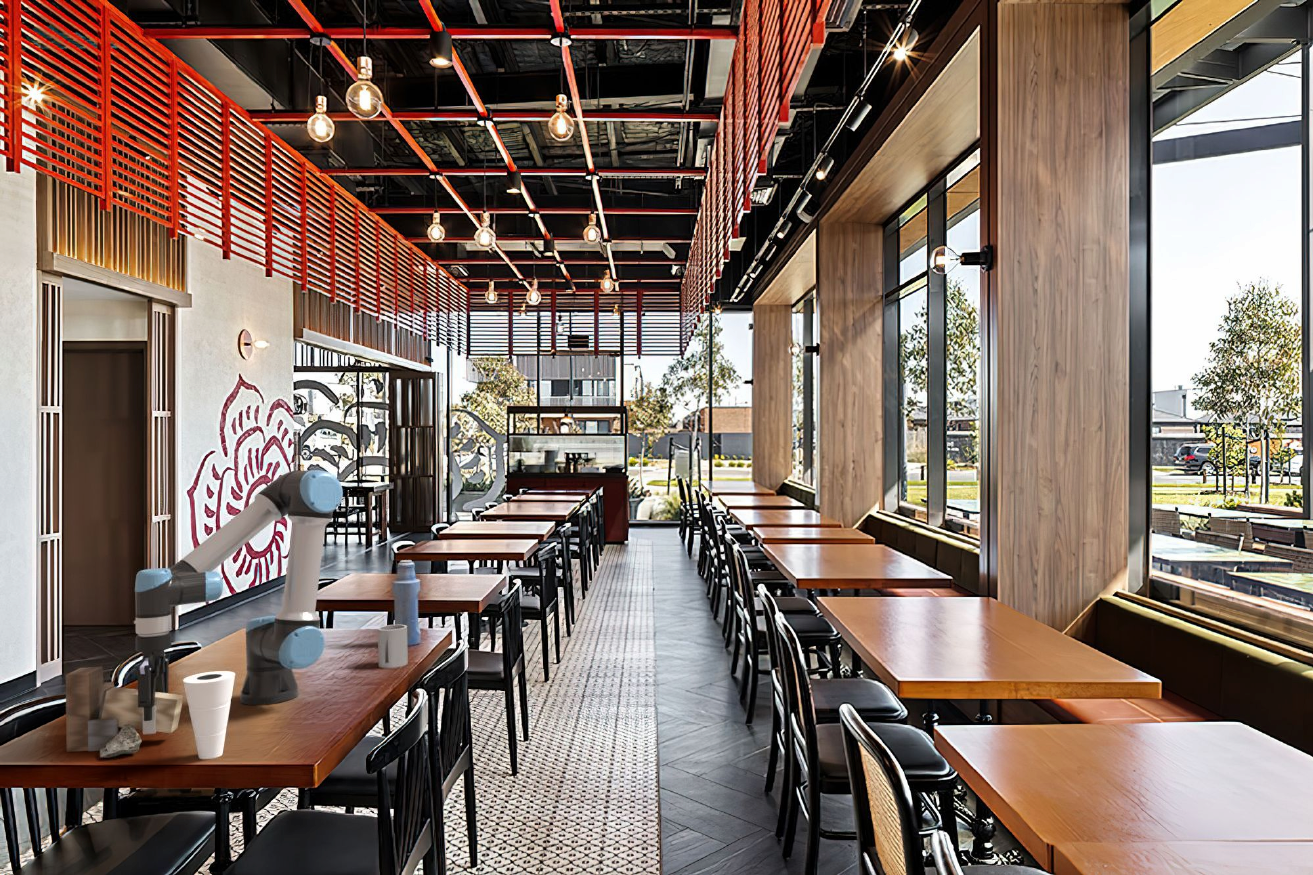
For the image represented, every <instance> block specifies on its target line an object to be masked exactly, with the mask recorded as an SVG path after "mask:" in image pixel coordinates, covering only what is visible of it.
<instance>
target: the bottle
mask: <svg viewBox="0 0 1313 875" xmlns="http://www.w3.org/2000/svg"><path fill="white" fill-rule="evenodd" d="M415 567H416V566H415V562H413V561H412V560H411V559H408V560H407V559H405V560H403V559H402V560H400V561H399V563H397V572H396V573H397V574H396V579H394V580H392V582H391V583H392V586H391V588H392V590H391V591H392V596H393V600H394V625H406V626H407V647H413V646H417V645H419V644H421V641H422V640H421V639H422V638H421V637H422V636H421V634H422V633H421V629H420V627H419V626H420V625H419V594H420V592H421V580H420V579H419V578H416V572H415Z"/></svg>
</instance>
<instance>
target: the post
mask: <svg viewBox="0 0 1313 875" xmlns="http://www.w3.org/2000/svg"><path fill="white" fill-rule="evenodd" d="M110 687H115V683H114V681H109V682H106V681H105V682H104V667H103V666H91V667H89V666H88V667H79V668H77V669H76V670H74V671H71V672H69V673H67V674H66V675H65V715H66V716H65V717H66V718H65V723H66V726H65V728H66V732H65V734H66V735H65V736H66V752H67V753H68V752H69V753H70V752H71V753H73V752H85V751H88V752H98V751H99V752H100V750H101V749H103V748H104V747H105V745H106V744H107V743H108V742H110V741H111V740H112V739H113V738H114V737H115V736H116V735H117V734H118V733H119V732H120V731H121V729H122V728H123V727H118V718H112V719H98V718H99V713H100V708H101V703H102V698H103V693H104V690H106V689H108V688H110Z"/></svg>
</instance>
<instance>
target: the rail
mask: <svg viewBox="0 0 1313 875" xmlns="http://www.w3.org/2000/svg"><path fill="white" fill-rule="evenodd" d="M183 700H184V695H183V694H175V693H169V692H168V693H161V692H155V701H154V705H156V732H159V733H160V732H161V733H167V734H172V733H173V732H174V731H175V730H176V729H178V728H179V727H178V726H179V721H180V718H181V717H180V716H181V711H182V706H183V702H184V701H183ZM112 718H118V727H123V726H124V725H125V724H126V723H130V725H131V726H132V728H134V729H135V730H142V731H143V707H138V689H135V688H127V687H119V686H114V687H110V688H108V689H106V690H104V693H103V698H102V703H101V708H100V713H99V718H98V719H112Z"/></svg>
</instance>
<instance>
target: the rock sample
mask: <svg viewBox="0 0 1313 875" xmlns="http://www.w3.org/2000/svg"><path fill="white" fill-rule="evenodd" d="M142 741H143V740H142V738H141V736H140V734H139V733H138V731H137V729H134V728H132V726H131V725H130V723H126V724H125V725H124V726H123V728H122V729H121V731H120V732H119V733H118V734H117V735H116V736H115V737H114V738H113V739H112V740H111V741H110V742H108V743H107V744H106V745H105V747H104V748H103V749H101V750H100V751H99V757H100V758H101V759H102V758H103V759H104V758H106V759H107V758H114V757H117V756H119V755H132V754H135V753H137V752H138V751H139V750H140V745H141V743H142Z"/></svg>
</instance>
